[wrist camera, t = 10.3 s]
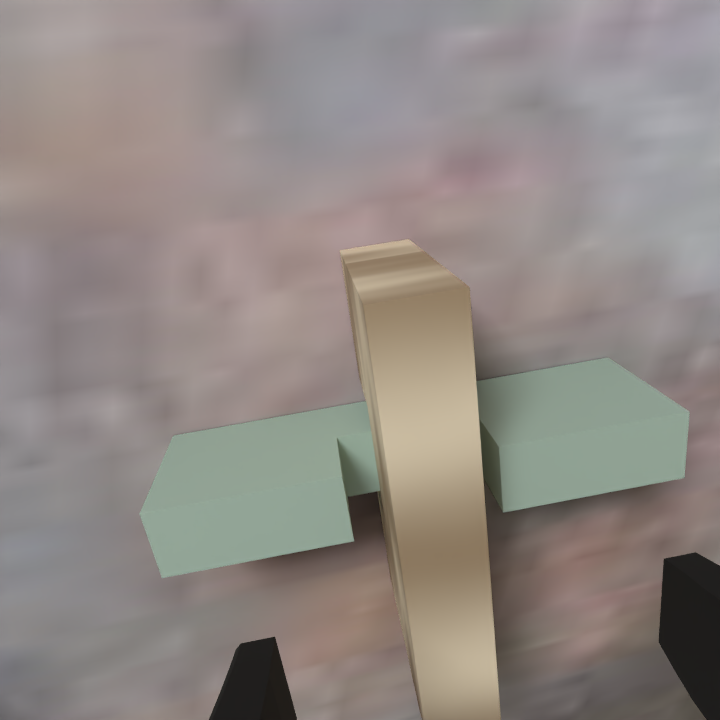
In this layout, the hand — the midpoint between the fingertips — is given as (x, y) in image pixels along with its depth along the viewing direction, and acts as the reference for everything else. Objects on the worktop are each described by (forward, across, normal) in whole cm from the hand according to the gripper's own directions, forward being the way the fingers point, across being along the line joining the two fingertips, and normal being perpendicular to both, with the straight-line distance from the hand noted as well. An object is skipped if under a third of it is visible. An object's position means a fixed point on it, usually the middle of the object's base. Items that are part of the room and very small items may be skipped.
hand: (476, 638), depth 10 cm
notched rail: (+8, 0, 0) cm, 8 cm away
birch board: (+8, 0, 0) cm, 8 cm away
